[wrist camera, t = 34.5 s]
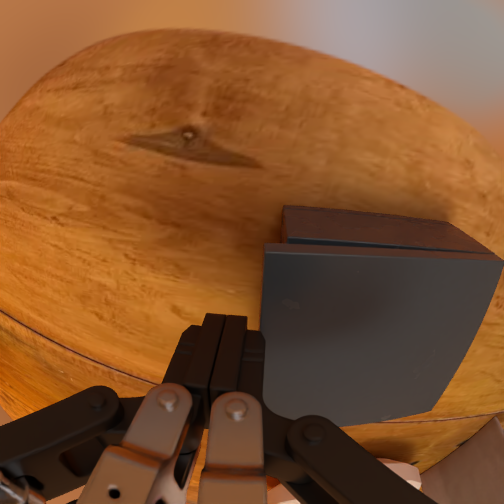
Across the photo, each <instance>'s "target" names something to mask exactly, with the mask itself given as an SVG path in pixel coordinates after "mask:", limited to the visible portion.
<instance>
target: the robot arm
mask: <svg viewBox="0 0 504 504" xmlns="http://www.w3.org/2000/svg"><path fill="white" fill-rule="evenodd" d="M265 345H266V340H265V338H264V336H263V335H262V333H261V331H254V330H247V316H237V315H224V314H213V313H206V315H205V318H204V321H203V324H202V326H198V325H191V326H190V327H189V328H187V329H186V330H185V331H184V332H183V333H182V335H181V338H180V340H179V342H178V345H177V347H176V349H175V353H174V354H173V357H172V359H171V362H170V364H169V366H168V369H167V371H166V374H165V376H164V379H163V381H162V383H161V384H159V385H157V386H155V387H153V388H152V389H150V390H149V392H148V393H147V394H146V396H142V397H131V398H119V397H118V395H117V393H116V392H115V391H114V390H113V389H111V388H109V387H106V386H93V387H90V388H87V389H85V390H83V391H81V392H79V393H77V394H75V395H72V396H70V397H68V398H66V399H64V400H61V401H59V402H57V403H55V404H52V405H50V406H48V407H45V408H43V409H41V410H39V411H36V412H34V413H31V414H29V415H27V416H24V417H22V418H20V419H17V420H15V421H12V422H10V423H7V424H5V425H2V426H0V504H46V501H48V500H51V499H53V498H55V497H58V496H60V495H63V494H65V493H68V492H70V491H72V490H74V489H77V488H79V487H81V486H83V485H85V484H86V485H85V487H84V489H83V491H82V493H81V495H80V497H79V499H76V500H73V501H71V502H69V503H67V504H186V493H187V489H188V486H189V483H190V480H191V477H192V474H193V471H194V467H195V464H196V461H197V458H198V455H199V452H200V449H201V439H202V435H203V431H204V429H209V432H208V441H207V450H206V459H205V466H204V468H203V469H202V471H201V476H200V482H199V492H198V501H197V504H267V482H266V475H268V476H271V477H274V478H277V479H278V480H279V482H280V483H281V484H282V485H283V486H284V487H285V488H286V489H287V490H288V491H289V492H290V493H291V494H292V495H293V496H294V497H295V498H296V499H297V500H298V501H299V502H300V503H301V504H438V503H437V502H435V501H434V500H432V499H431V498H430V497H428V496H427V495H425V494H424V493H422V492H421V491H419V490H418V489H417V488H415V487H414V486H412V485H411V484H410V483H408V482H407V481H406V480H404V479H403V478H401V477H400V476H399V475H397V474H396V473H395V472H393V471H392V470H391V469H390V468H388V467H387V466H386V465H384V464H383V463H382V462H380V461H379V460H378V459H377V458H375V457H374V456H373V455H372V454H370V453H369V452H368V451H367V450H365V449H364V448H363V447H362V446H360V445H359V444H358V443H357V442H356V441H354V440H353V439H352V438H351V437H349V436H348V435H347V434H346V433H345V432H344V431H342V430H341V429H340V428H339V427H338V426H336V425H335V424H334V423H333V422H332V421H330V420H329V419H327V418H325V417H322V416H319V415H306V416H302V417H300V418H298V419H296V420H292V419H289V418H285V417H282V416H279V415H277V414H275V413H274V412H272V411H271V410H270V409H269V408H268V407H267V406H266V404H265V403H264V400H263V380H264V363H265Z"/></svg>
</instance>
